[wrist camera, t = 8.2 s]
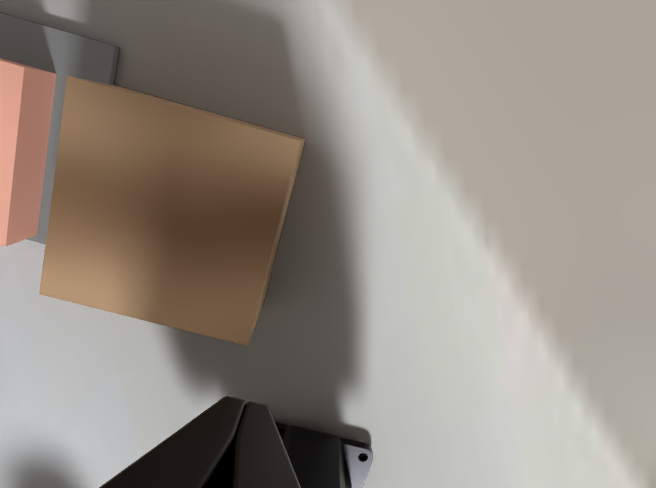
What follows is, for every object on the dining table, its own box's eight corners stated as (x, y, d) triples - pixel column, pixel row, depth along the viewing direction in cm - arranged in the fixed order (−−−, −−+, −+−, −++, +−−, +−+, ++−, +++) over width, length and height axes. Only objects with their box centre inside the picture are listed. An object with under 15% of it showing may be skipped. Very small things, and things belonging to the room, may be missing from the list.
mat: (88, 251, 21) (83, 254, 20) (-79, 208, 20) (-87, 210, 20) (119, 47, 19) (115, 45, 18) (-67, -6, 18) (-76, -9, 18)
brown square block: (262, 306, 21) (247, 346, 17) (93, 263, 21) (39, 294, 17) (305, 138, 19) (299, 141, 16) (120, 86, 19) (67, 75, 15)
